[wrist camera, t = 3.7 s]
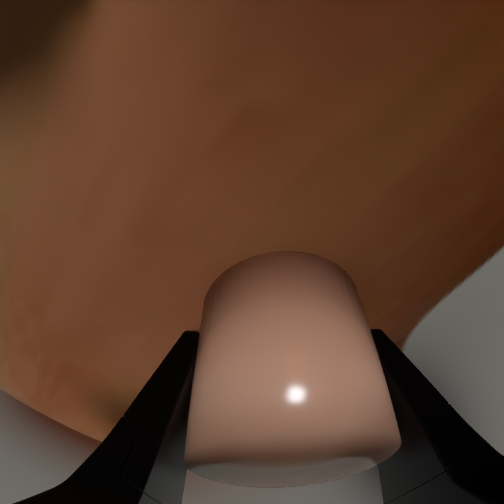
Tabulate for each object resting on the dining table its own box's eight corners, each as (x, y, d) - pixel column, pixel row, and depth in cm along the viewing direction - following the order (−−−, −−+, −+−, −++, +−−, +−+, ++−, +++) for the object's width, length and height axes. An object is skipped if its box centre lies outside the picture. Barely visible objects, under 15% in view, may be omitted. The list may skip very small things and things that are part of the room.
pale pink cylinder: (374, 252, 9) (440, 409, 5) (340, 357, 12) (363, 478, 8) (196, 250, 9) (161, 425, 5) (209, 359, 12) (199, 485, 7)
